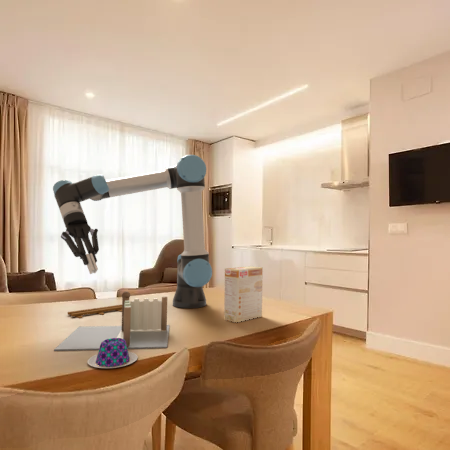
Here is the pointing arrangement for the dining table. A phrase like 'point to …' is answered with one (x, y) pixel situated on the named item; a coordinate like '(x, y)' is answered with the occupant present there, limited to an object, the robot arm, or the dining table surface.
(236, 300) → the coffeecake box
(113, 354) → the pudding
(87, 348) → the card
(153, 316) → the fixed panel
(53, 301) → the dining table surface
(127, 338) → the panel
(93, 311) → the decorative fence
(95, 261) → the robot arm
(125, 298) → the hinge post
